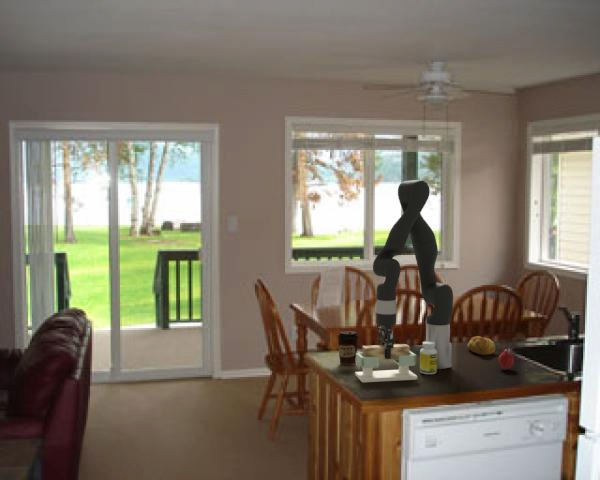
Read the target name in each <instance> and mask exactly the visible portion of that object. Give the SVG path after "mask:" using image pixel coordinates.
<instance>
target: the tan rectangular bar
mask: <svg viewBox="0 0 600 480" xmlns="http://www.w3.org/2000/svg"><path fill="white" fill-rule="evenodd" d="M384 347H385V346H384V345H380V344H379V345H378V344H377V345H376V344H375V345H372V344H371V345H362V350H361V351H362V356H363V357H377V356H378V357H379V361H381V360H386V359H385V348H384ZM410 348H411V347H410V345H408V344H406V343H400V344H399V343H397V344H395V343H394V347H393V348H392V349H391V358H390V359H389V360H393V359H399V355H410V351H411V350H410Z"/></svg>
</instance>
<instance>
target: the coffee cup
mask: <svg viewBox="0 0 600 480" xmlns="http://www.w3.org/2000/svg"><path fill="white" fill-rule="evenodd" d="M337 340H338V341H337V342H338V353H339V354H338V355H339V364H340V365H342V366H355V365H356V364H357V361H356V353H358V341H359V335H358V332H357V331H353V330H346V331H345V330H344V331H340V332H339V333H338V335H337Z"/></svg>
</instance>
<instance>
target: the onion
mask: <svg viewBox="0 0 600 480" xmlns="http://www.w3.org/2000/svg"><path fill="white" fill-rule="evenodd" d="M497 361H498V364H499V365H500V367H501V368H502V369H503V370H504V371H507V370H509V369H510V368H512V367H513V365H514V363H515V358H514V355H512V354H511V352H509V351H508V350H507V349H504V351H503V352H501V354H500V355H499V356H498V359H497Z"/></svg>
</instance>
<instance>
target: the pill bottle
mask: <svg viewBox="0 0 600 480" xmlns="http://www.w3.org/2000/svg"><path fill="white" fill-rule="evenodd" d="M434 347H435V343H434V342H429V341H426V340H425V341H422V348H420V350H419V372H420V373H421V374H424V375H435V374H436V373H437V372H438V369H437V350H436V349H434Z"/></svg>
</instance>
